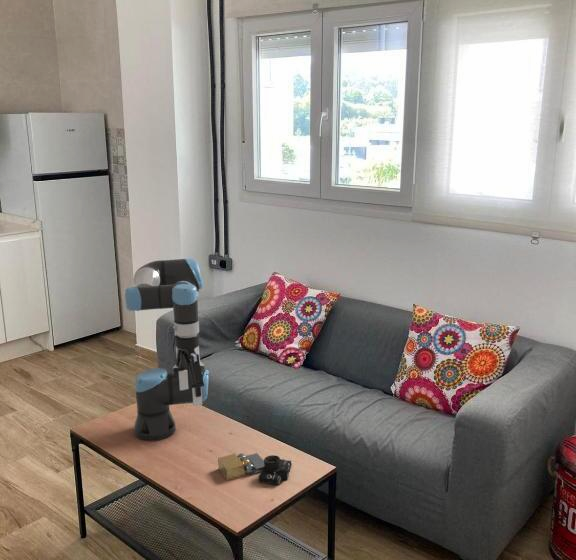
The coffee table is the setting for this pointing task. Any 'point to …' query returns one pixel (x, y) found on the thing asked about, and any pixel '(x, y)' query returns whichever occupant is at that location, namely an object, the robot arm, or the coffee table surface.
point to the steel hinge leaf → (253, 463)
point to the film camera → (275, 470)
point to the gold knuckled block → (232, 466)
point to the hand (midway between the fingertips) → (190, 397)
